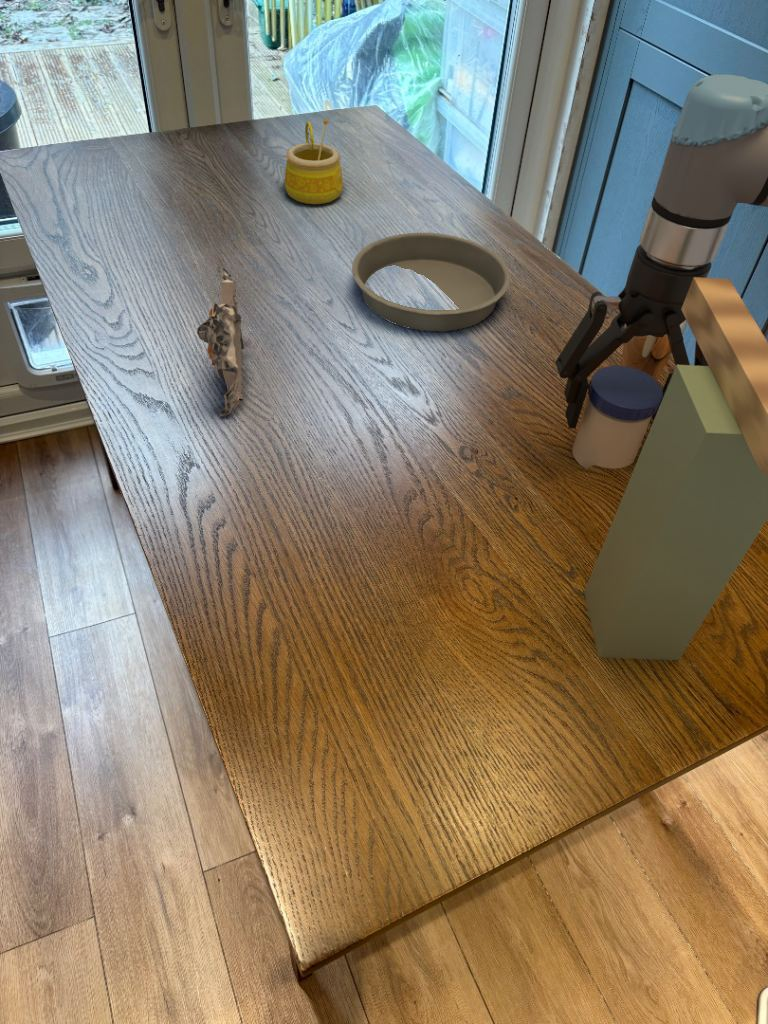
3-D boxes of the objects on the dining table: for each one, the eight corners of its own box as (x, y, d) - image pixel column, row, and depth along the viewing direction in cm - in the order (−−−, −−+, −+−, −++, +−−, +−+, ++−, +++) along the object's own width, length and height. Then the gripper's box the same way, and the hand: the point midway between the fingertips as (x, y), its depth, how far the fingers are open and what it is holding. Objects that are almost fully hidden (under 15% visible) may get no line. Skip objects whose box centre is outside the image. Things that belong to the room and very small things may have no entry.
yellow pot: (329, 213, 137) (329, 145, 128) (275, 201, 139) (271, 133, 131) (355, 186, 146) (357, 121, 137) (304, 175, 148) (303, 110, 139)
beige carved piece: (214, 351, 106) (202, 266, 96) (244, 351, 106) (236, 266, 97) (209, 420, 96) (196, 332, 86) (243, 419, 96) (234, 331, 87)
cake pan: (390, 243, 131) (392, 218, 127) (525, 280, 124) (530, 255, 121) (323, 310, 115) (323, 283, 112) (473, 356, 109) (478, 329, 105)
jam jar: (646, 464, 95) (672, 402, 87) (599, 483, 92) (622, 421, 84) (605, 428, 99) (627, 366, 92) (559, 445, 96) (578, 382, 89)
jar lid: (578, 405, 87) (581, 393, 86) (598, 369, 93) (602, 357, 91) (648, 430, 85) (653, 418, 84) (666, 391, 90) (670, 379, 89)
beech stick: (680, 309, 63) (693, 276, 61) (715, 311, 63) (729, 278, 61) (761, 473, 49) (781, 439, 47) (806, 475, 49) (828, 441, 47)
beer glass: (636, 374, 108) (670, 279, 97) (666, 403, 103) (706, 307, 92) (596, 384, 105) (626, 288, 95) (626, 414, 101) (661, 317, 90)
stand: (580, 598, 79) (676, 364, 57) (655, 601, 80) (778, 369, 58) (594, 664, 74) (706, 432, 52) (674, 667, 74) (819, 437, 52)
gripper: (770, 238, 79) (695, 405, 95) (557, 230, 77) (517, 400, 93) (799, 275, 73) (715, 445, 90) (571, 267, 72) (527, 440, 88)
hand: (614, 422), depth 91 cm, fingers open, 10 cm apart
